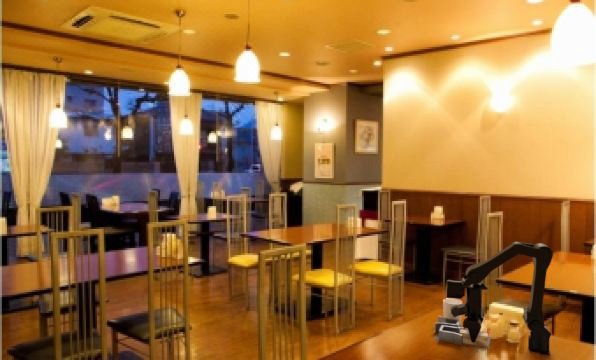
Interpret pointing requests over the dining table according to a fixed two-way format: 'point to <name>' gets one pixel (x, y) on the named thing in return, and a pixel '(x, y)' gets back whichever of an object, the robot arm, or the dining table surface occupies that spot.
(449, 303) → the white cup
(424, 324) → the dining table surface
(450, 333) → the end cap
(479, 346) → the mat
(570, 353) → the dining table surface
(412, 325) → the dining table surface
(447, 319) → the end cap
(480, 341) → the wooden block
